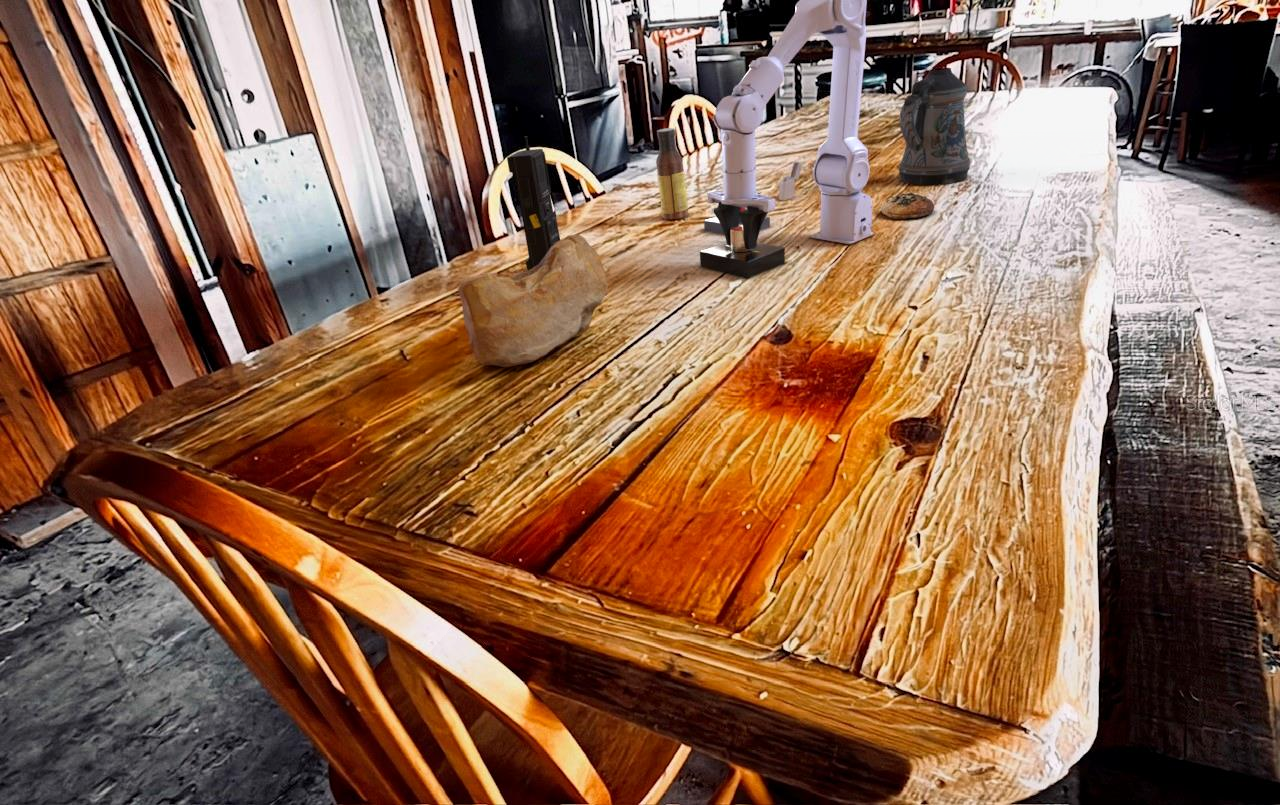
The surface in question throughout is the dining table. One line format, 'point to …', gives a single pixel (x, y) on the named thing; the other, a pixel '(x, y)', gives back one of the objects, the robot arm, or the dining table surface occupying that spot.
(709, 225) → the button box
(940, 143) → the beer stein
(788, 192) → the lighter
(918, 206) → the bread roll
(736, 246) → the dial
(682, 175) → the sauce bottle
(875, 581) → the dining table surface
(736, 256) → the dial panel
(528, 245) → the portable radio
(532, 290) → the rough brown rock
